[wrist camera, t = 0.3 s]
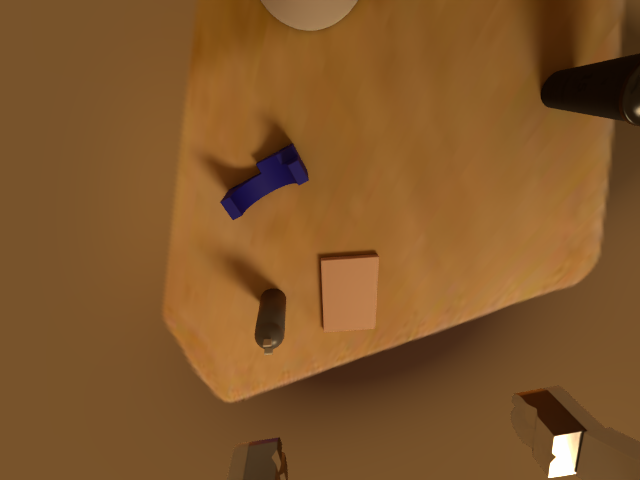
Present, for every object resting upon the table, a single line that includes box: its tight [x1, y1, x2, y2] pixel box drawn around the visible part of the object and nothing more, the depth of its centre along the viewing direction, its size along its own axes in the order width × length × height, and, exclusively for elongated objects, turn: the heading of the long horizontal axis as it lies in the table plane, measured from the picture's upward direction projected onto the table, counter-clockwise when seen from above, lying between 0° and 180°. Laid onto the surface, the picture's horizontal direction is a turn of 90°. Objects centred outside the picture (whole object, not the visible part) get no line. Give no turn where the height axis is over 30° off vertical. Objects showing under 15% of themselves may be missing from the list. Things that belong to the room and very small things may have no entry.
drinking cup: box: [541, 54, 640, 126], centre depth 34 cm, size 8×8×20 cm
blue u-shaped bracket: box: [220, 143, 309, 220], centre depth 43 cm, size 12×4×6 cm, turn 117°
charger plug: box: [255, 289, 286, 355], centre depth 50 cm, size 5×5×12 cm
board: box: [321, 254, 379, 333], centre depth 56 cm, size 16×10×1 cm, turn 3°
